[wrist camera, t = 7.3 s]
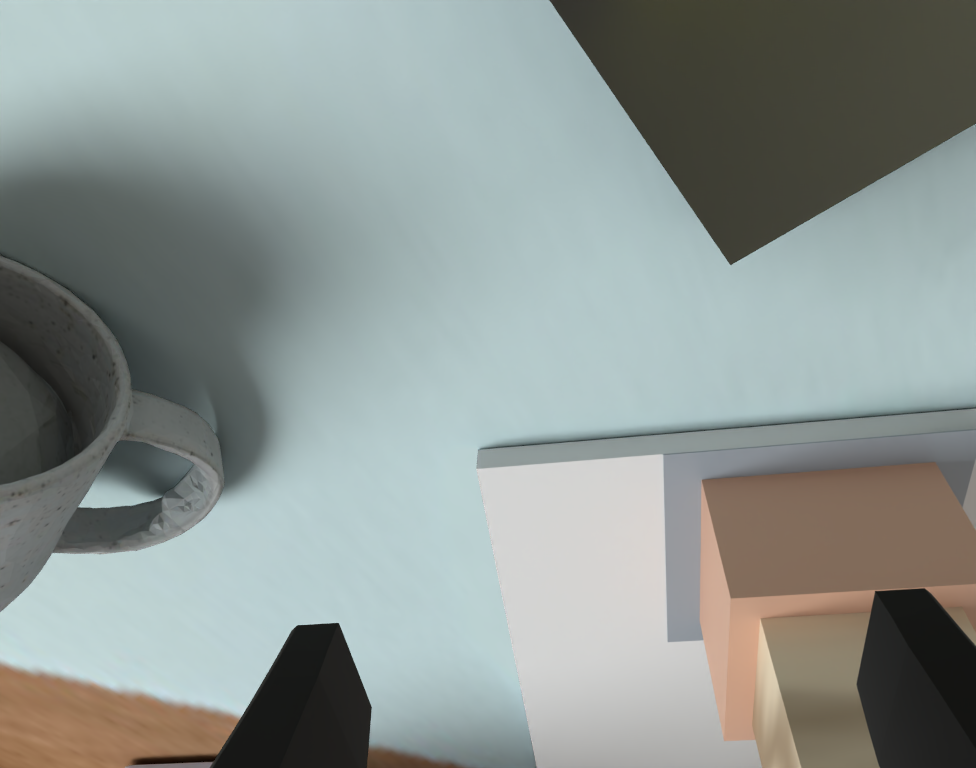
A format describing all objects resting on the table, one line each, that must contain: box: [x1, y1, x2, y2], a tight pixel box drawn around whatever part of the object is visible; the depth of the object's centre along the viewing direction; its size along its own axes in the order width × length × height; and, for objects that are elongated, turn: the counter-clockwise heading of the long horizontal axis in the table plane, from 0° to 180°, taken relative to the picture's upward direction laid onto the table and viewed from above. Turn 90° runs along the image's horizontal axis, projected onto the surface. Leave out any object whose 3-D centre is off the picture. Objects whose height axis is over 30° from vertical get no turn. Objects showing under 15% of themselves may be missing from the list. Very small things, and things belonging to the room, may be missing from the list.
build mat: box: [477, 409, 976, 768], centre depth 27 cm, size 18×14×1 cm
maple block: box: [752, 607, 976, 768], centre depth 19 cm, size 4×4×4 cm
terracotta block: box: [700, 462, 976, 741], centre depth 22 cm, size 6×6×4 cm
